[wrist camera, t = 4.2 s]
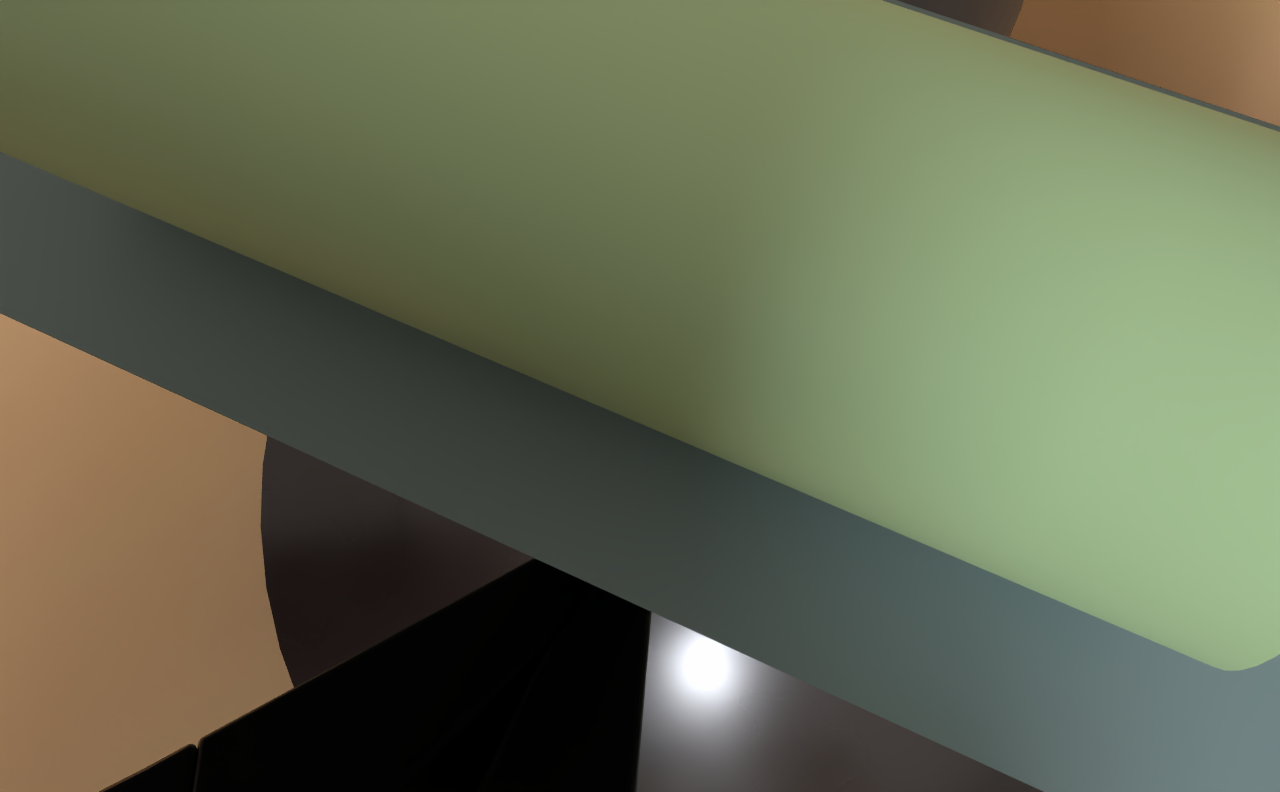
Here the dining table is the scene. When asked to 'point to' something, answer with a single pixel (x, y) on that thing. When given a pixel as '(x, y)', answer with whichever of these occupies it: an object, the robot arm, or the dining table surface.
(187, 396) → the grey upright slab
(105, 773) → the dining table surface
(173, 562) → the dining table surface
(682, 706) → the base
